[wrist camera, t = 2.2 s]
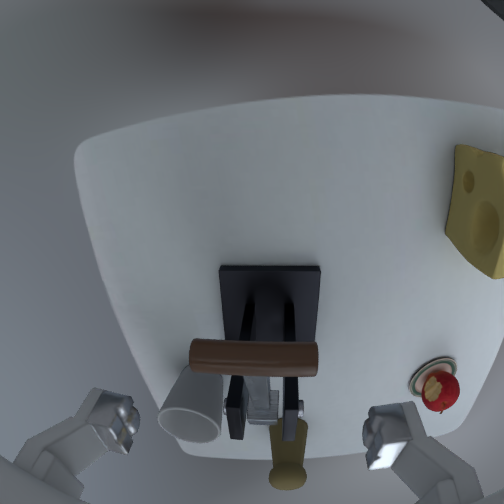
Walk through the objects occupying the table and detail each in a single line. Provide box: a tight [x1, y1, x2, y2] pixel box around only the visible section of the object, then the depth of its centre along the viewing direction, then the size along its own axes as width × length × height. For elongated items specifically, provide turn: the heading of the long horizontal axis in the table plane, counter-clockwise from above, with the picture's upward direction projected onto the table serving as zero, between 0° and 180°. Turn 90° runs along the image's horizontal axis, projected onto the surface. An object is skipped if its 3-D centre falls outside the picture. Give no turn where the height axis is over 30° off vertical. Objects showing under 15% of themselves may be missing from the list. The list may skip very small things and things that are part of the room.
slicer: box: [219, 266, 321, 441], centre depth 26 cm, size 12×10×15 cm
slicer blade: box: [189, 338, 318, 425], centre depth 16 cm, size 14×5×2 cm, turn 2°
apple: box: [409, 358, 460, 414], centre depth 32 cm, size 8×8×6 cm
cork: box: [269, 418, 308, 490], centre depth 36 cm, size 6×6×11 cm
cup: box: [157, 366, 223, 443], centre depth 34 cm, size 8×10×8 cm
